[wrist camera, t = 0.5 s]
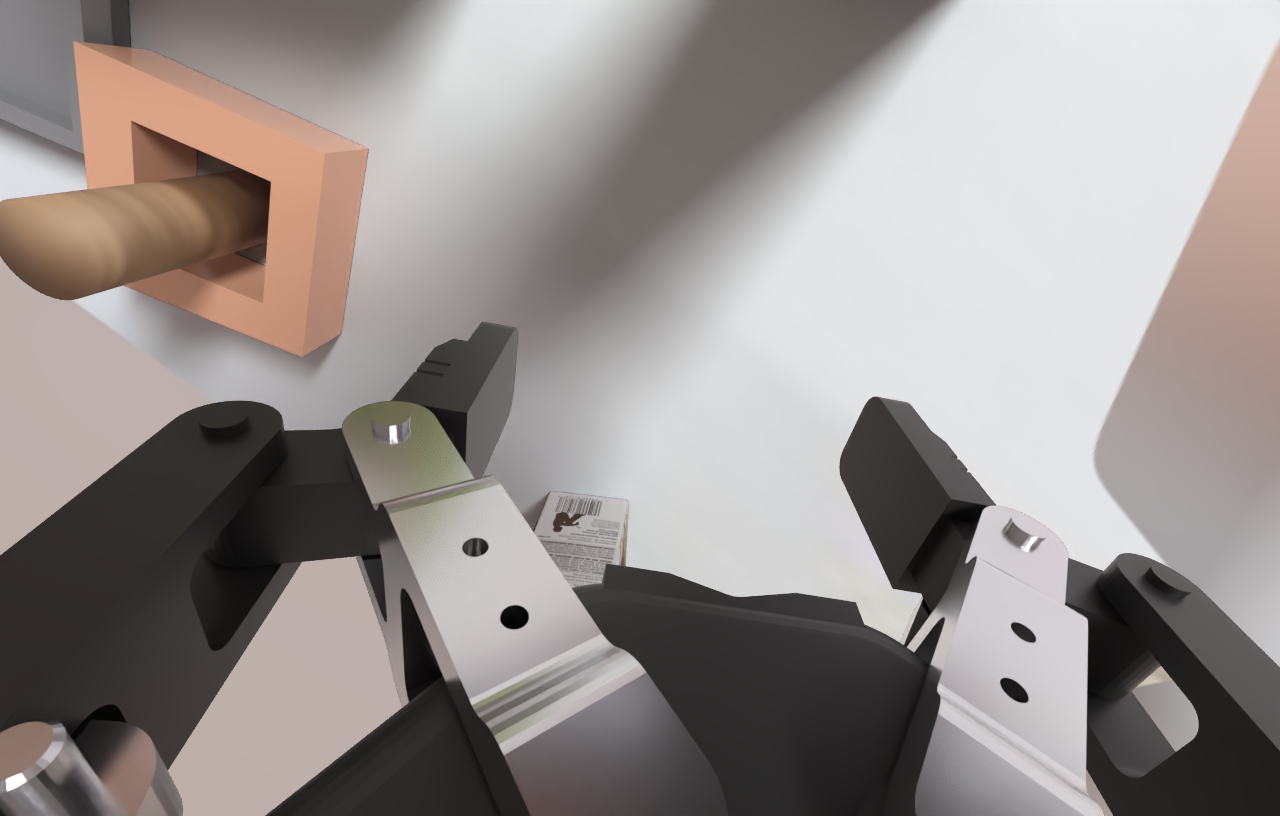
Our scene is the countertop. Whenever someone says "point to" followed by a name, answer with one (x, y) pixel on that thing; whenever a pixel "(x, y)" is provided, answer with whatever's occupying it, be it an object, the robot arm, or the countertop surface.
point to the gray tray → (52, 61)
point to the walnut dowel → (130, 230)
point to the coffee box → (583, 534)
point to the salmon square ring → (254, 141)
